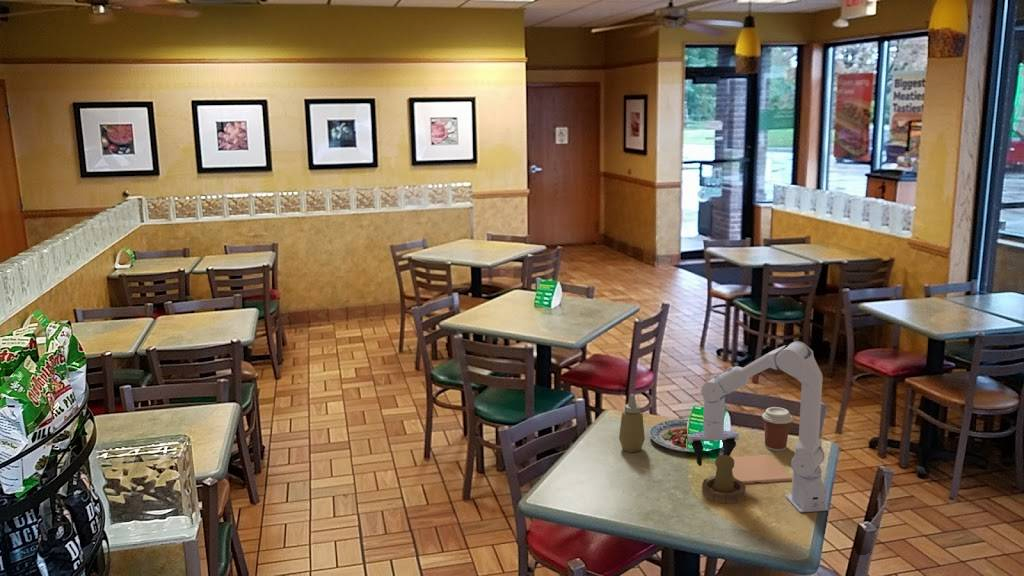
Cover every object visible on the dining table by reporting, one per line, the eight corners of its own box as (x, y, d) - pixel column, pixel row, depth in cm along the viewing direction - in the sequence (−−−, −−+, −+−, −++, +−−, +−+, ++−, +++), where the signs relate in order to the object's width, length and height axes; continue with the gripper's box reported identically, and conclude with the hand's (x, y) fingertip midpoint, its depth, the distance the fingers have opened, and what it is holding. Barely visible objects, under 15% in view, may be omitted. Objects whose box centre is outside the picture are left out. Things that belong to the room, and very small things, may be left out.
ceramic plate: (740, 434, 270) (740, 425, 269) (716, 464, 248) (717, 455, 247) (665, 420, 282) (665, 411, 282) (636, 447, 261) (637, 438, 260)
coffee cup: (755, 441, 263) (757, 406, 260) (783, 440, 264) (785, 404, 261) (767, 453, 254) (769, 417, 251) (795, 451, 255) (798, 415, 252)
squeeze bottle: (613, 446, 261) (614, 393, 257) (635, 441, 265) (636, 388, 261) (627, 456, 254) (628, 401, 250) (649, 451, 257) (650, 396, 253)
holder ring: (751, 501, 224) (751, 493, 223) (710, 504, 223) (710, 496, 222) (735, 482, 235) (736, 474, 235) (697, 485, 234) (697, 477, 233)
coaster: (791, 480, 236) (791, 477, 236) (737, 483, 234) (737, 481, 234) (769, 457, 251) (769, 454, 251) (718, 460, 250) (718, 457, 250)
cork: (732, 488, 232) (734, 452, 229) (736, 499, 226) (738, 461, 223) (710, 488, 232) (712, 452, 230) (714, 498, 226) (715, 461, 224)
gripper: (733, 412, 239) (731, 456, 242) (684, 415, 238) (683, 459, 241) (742, 422, 232) (740, 466, 235) (692, 425, 231) (690, 469, 234)
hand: (712, 463), depth 238 cm, fingers open, 7 cm apart
